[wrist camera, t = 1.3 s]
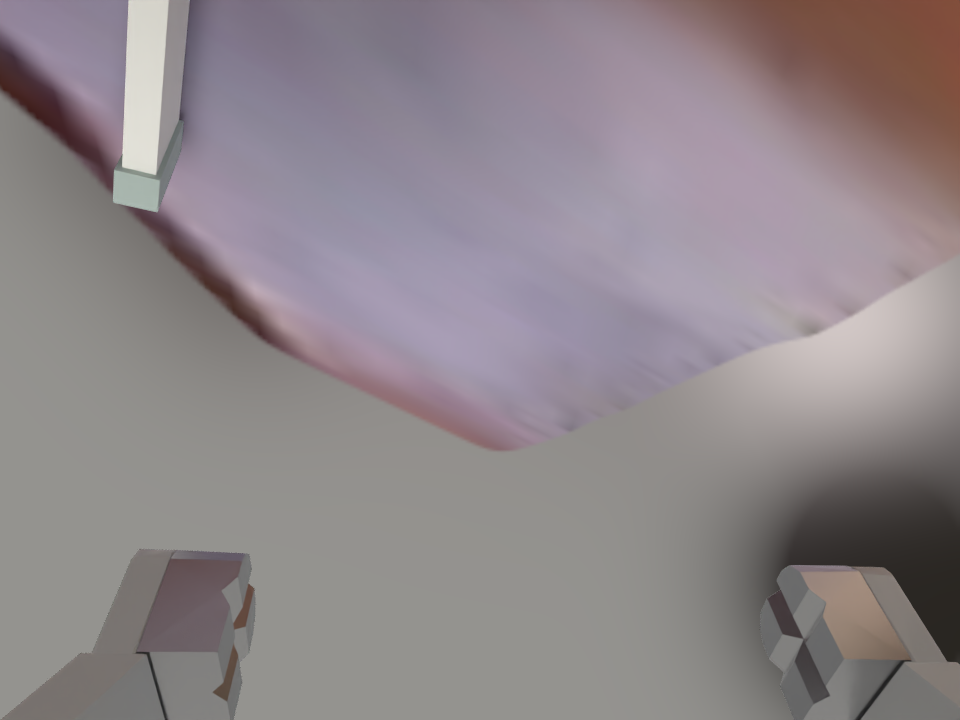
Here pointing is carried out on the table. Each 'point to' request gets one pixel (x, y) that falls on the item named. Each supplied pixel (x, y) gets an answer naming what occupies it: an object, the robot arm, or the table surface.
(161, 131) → the gate
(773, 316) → the table surface
